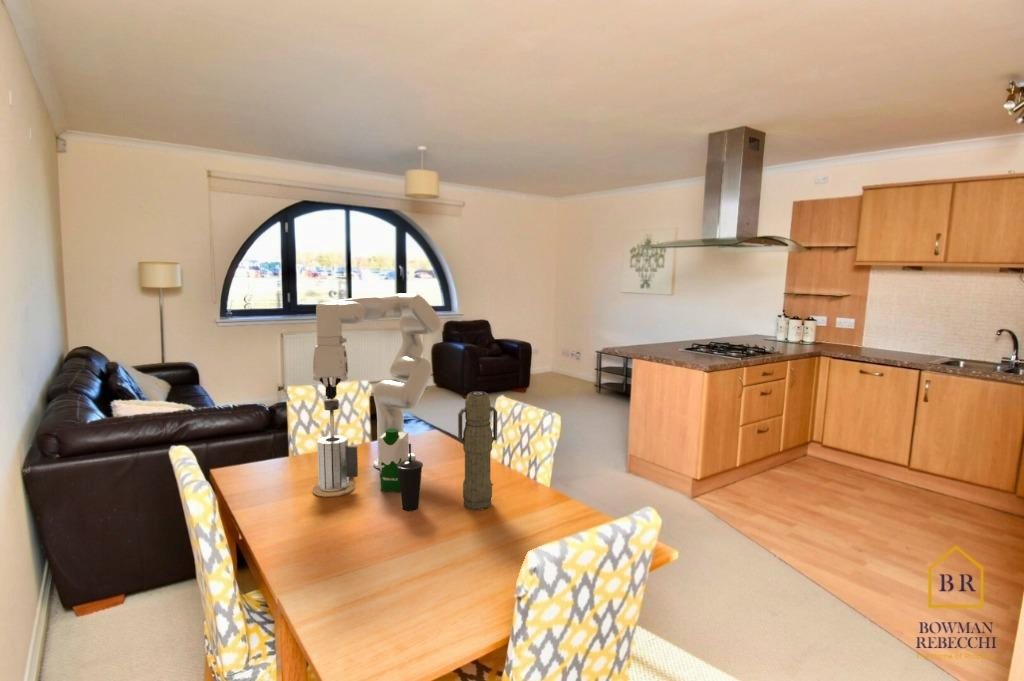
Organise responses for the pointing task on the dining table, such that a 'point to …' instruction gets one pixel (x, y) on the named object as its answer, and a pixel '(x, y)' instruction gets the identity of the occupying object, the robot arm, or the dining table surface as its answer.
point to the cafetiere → (335, 466)
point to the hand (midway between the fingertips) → (331, 398)
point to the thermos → (477, 449)
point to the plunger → (331, 413)
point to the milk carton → (392, 458)
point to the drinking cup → (410, 482)
